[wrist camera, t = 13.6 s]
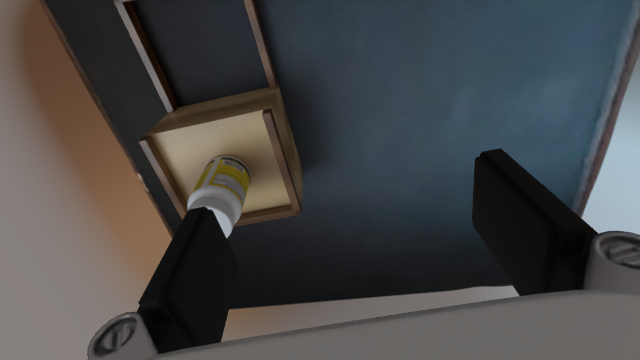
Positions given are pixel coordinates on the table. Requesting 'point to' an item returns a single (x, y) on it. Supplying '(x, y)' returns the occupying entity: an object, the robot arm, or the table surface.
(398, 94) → the table surface
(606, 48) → the table surface
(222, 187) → the supplement bottle
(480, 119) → the table surface
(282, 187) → the shelf rack
